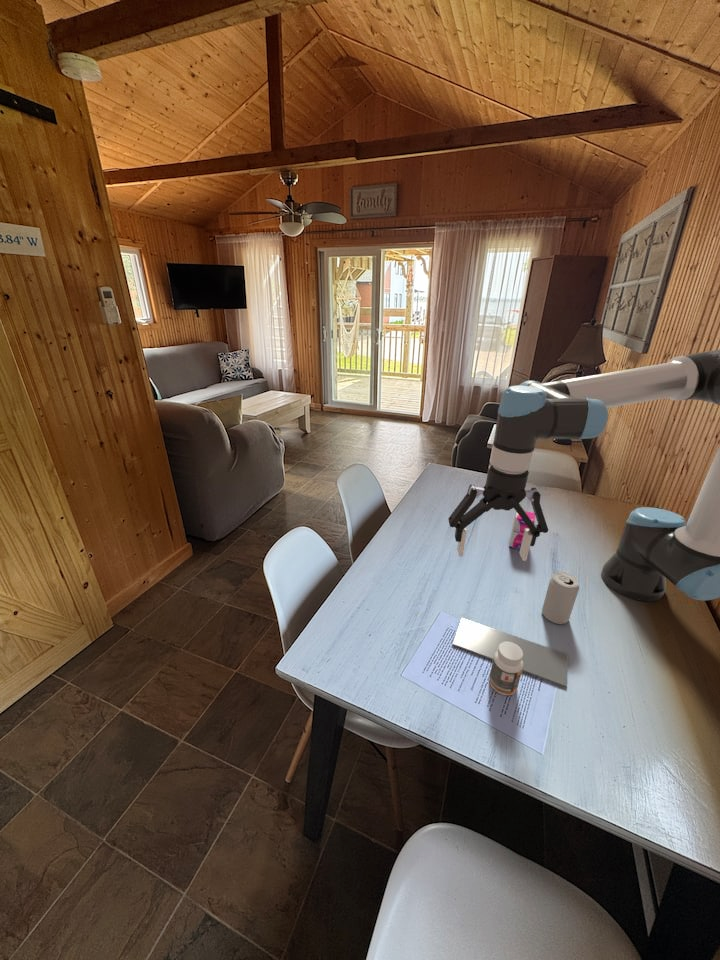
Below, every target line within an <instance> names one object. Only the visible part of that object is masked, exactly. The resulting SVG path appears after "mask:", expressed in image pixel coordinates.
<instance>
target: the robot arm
mask: <svg viewBox="0 0 720 960" xmlns="http://www.w3.org/2000/svg"><path fill="white" fill-rule="evenodd" d="M664 399H669V400H671V401H675V402H681V401H687V400H688V401H689V400H690V401H691V400H695V401H701V402H702V401H703V402H706V403H711V404H714V405H715V404H716V405H718V406H720V349H716V350H715V349H714V350H708V351H702V352H696V353H691V354H683V355H678V356H674V357H672V358H670V359H669V360H667V362H666V363H665V362H664V363H659V364H653V365H648V366H641V367H636V368H630V369H623V370H618V371H617V370H616V371H611V372H605V373H599V374H593V375H586V376H581V377H575V378H569V379H564V380H563V379H562V380H555V381H549V382H540V381H537V380H526V381H523V382H521V383H520V384H519V385H510V386H508V387H506V388H505V389H504V391H503V392H502V395H501V399H500V401H499V402H500V403H499V406H498V409H497V418H496V425H495V431H494V432H495V433H494V437H493V444H492V448H491V454H490V459H489V463H490V464H489V465H488V470H487V474H486V475H487V476H486V480H485V481H486V482H485V484H484V486H483V487H477V486H476V485H475V484H474V483H472V484H469V486H468V489H467V493H466V494H465V496H464V497H463V498H462V500H461V501H460V502H459V503H458V505H457V506H456V507H455V509H454V510H453V511H452V513H451V514H450V516H449V517H448V519H447V520H448V523H449V524H448V525H449V527H450V528H455V532H454V539H455V541H456V542H458V543H457V553H458V557H464V551H465V545H466V539H467V527H468V526H469V525H470V524H472V523H473V522H475V520H477V519H478V518H479V517H481V516H482V515H483V514H484V513H488V512H489V511H490V510H491V509H493V510H494V511H499V510H503V511H510V510H512V509H514V510H515V513H516V512H517V513H518V514H519V515H520V517H521V518H522V519H523V521H524V522H525V524H526V525H527V526H528V528H529V529H530V530H529V529H526V528H525V531H524V535H523V539H522V544H521V548H520V549H519V555H520V557H521V560H522V561H524V562H526V561H527V560H528V555H529V551H530V547H534V546H535V545H536V541H537V538H539V537H540V536H541V533H543V534H546V533H548V532H549V528H548V525H547V522H546V518H545V515H544V513H543V509H542V506H541V502H540V501H541V493H540V492H539V490H538V489H537V488H536V487H532V488H531V489H527V490H526V486H527V482H528V478H529V474H530V471H529V470H530V468H531V465H532V461H533V456H534V452H535V451H534V450H535V448H536V447H535V446H536V445H537V444H536V443H537V440H577V441H579V440H584V439H593V438H597V437H599V436H600V435H601V434H602V433H603V432H604V431H605V429H606V426H607V422H608V419H609V412H608V408H615V407H621V406H627V405H632V404H638V403H639V404H640V403H645V402H653V401H659V400H664ZM702 483H703V484H702V485H701V489H700V491H699V493H698V496H697V498H696V501H695V502H694V506H693V508H692V510H691V513H690V515H689V517H688V520H687V522H686V519H685V518H684V517H683V516H682V515H680V514H678V513H676V512H674V511H672V510H671V511H670V510H668V509H667V510H666V509H663V508H656V507H645V506H644V507H643V506H642V507H637V508H635V509H633V510H632V511H631V512H630V514H629V516H628V517H627V520H626V521H625V522H626V523H624V524H625V525H624V528H623V529H622V530H623V531H622V534H621V537H620V539H619V540H620V541H619V543H618V546H617V549H616V551H615V553H614V554H613V555H612V556H611V557H610V558H609V559H608V560H607V561H606V562H605V563H604V564H603V567H602V569H601V572H600V573H601V574H600V575H601V578H602V580H603V582H604V583H605V584H606V585H607V586H608V587H610V589H612V590H613V591H615V592H617V593H618V594H620V595H623V596H624V597H627V598H630V599H632V600H638V601H641V602H656V601H659V600H660V599H662V598H663V597H664V595H665V592H666V589H667V582H666V581H667V580H668V581H669V582H671V583H672V584H673V585H674V586H675V587H676V588H677V590H679V591H681V592H683V593H684V594H686V595H687V596H688V597H689V598H692V599H694V600H696V601H711V600H716V599H720V444H719V445H718V447H717V451H716V452H715V455H714V457H713V460H712V462H711V464H710V467H709V469H708V471H707V474H706V476H705V479H704V481H703V482H702ZM481 495H482V496H483V497H482V498H481V499H480V500H479V502H478V503H477V504H475V505H474V506H473V507H472V508H470V507H471V506H472V505H473V503H474V502H475V500H476V499H478V498H479V497H480V496H481ZM525 498H527V499H528V501H529V502H530V503H531V506H532V510H533V513H535V520H536V523H537V524H535V523H533V522H532V520H531V519H530V518H529V516H528V515H527V514H526V512H525V511H526V510H525V509H524V508H523V507H522V505H521V504H520V503H521V502H522V501H523V500H524V499H525ZM666 579H667V580H666Z"/></svg>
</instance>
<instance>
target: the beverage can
mask: <svg viewBox="0 0 720 960" xmlns="http://www.w3.org/2000/svg"><path fill="white" fill-rule="evenodd" d="M579 583H580V582H579V580H578V579H577V577H575V576H574V575H573V574H570V573H567V572H563V571H557V572H554V574H553V575H552V576H551V577H550V579H549V582H548V586H547V590H546V593H545V597H544V600H543V605H542V608H541V613H542V615H543V616H544V617H545V618H546V620H548V621H550V622H551V623H554V624H557V625H558V624H559V625H562V624H563V625H564V624H567V623H568V622H569V621H570V618H571V615H572V612H573V610H574V605H575V603H576V600H577V596H578V594H579V590H580V585H579Z"/></svg>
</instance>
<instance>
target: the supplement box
mask: <svg viewBox="0 0 720 960" xmlns="http://www.w3.org/2000/svg"><path fill="white" fill-rule="evenodd" d="M524 511H525V512H526V514H527V515H528V516H529V518H530V519H531V520H532V522H533V523H534V524H536V523H535V522H536V516H535V513H534V512H532V511H526V510H524ZM513 518H514V519H513V523H512V527H511V531H510V535H509V543H508V547H509V548H513V549H517V550H520V548H521V544H522V539H523V535H524V531H525V528H526V529H529V528H528V526H527V525H526V524H525V522H524V521H523V519H522V518H521V517H520V515H519V514H518V513H517V512H516V511H515V514H514V517H513ZM529 530H530V529H529Z"/></svg>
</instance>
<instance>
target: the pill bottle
mask: <svg viewBox="0 0 720 960" xmlns="http://www.w3.org/2000/svg"><path fill="white" fill-rule="evenodd" d="M522 658H523V652H522V649H521V648H520V647H519V646H518V645H516V644H515V643H512V642H508V641H506V642H502V643H501V644H500V645H499V647H498V651H497V652H496V653H495V654H494V657H493V661H492V663H491V668H490V672H489V678H488V679H489V681H488V682H489V684H490V686H491V688H492V689H493V690H494V691H495V692H497V693H499V694H500V695H504V696H511V695H514V694H515V693H517V691H518V687H519V683H520V679H521V676H522V673H523V672H522V669H523V661H522Z"/></svg>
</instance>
